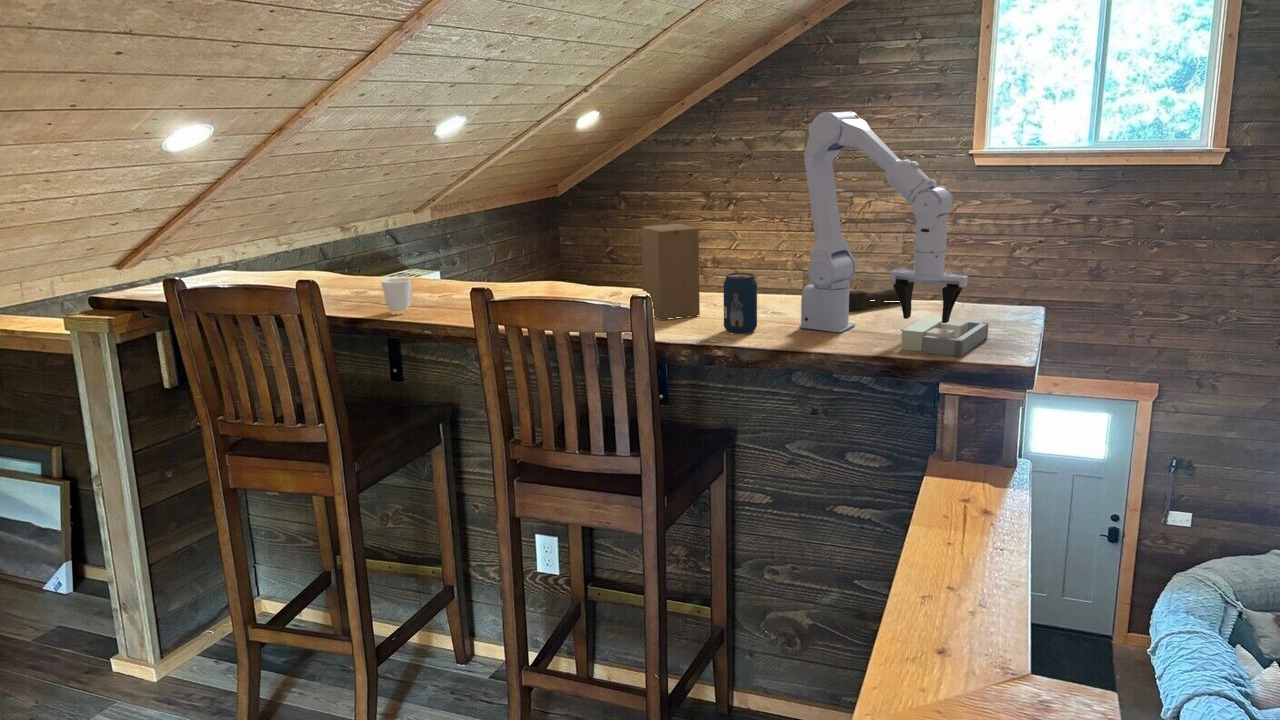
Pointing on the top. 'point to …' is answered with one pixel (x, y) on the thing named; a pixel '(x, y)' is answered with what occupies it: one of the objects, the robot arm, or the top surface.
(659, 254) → the wooden block
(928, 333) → the block
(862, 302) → the hand tool
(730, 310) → the soda can
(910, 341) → the sage green beam
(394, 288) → the cup
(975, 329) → the grey frame
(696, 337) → the top surface
